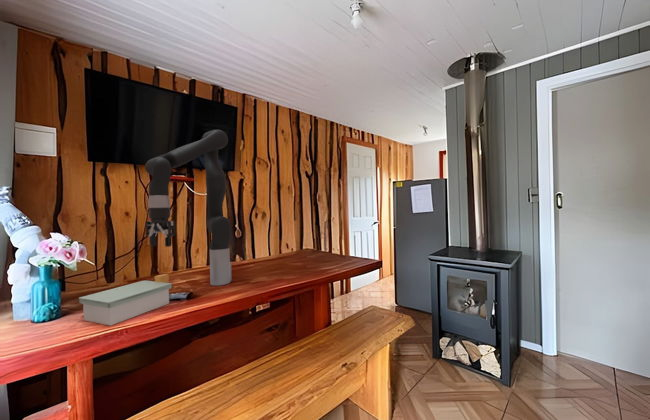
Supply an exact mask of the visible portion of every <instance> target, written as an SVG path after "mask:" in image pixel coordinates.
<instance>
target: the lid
mask: <svg viewBox="0 0 650 420" xmlns="http://www.w3.org/2000/svg"><path fill="white" fill-rule="evenodd" d="M169 276H170V274H168V273H167V274H166V273H163V274H162V273H161V274H159V275H155V276H154V280H141V281H137V282H132V283H129V284H126V285H122V286H118V287H115V288H110V289H106V290H102V291H99V292H95V293H91V294H88V295H84V296H80V297H78V303H79V304H82V305H83V304H87V305H93V306H99V307H105V308H111V307H114V306H117V305H120V304H124V303H127V302H130V301H133V300H136V299H139V298H142V297H145V296H148V295H151V294H155V293H158V292H161V291H164V290H167V289H169V290H170V289H172V288H173V283H171V282H170V277H169Z"/></svg>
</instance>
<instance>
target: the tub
mask: <svg viewBox="0 0 650 420" xmlns="http://www.w3.org/2000/svg"><path fill="white" fill-rule="evenodd" d="M169 290H170V289H167V290H164V291H161V292H158V293H155V294H151V295H148V296H145V297H142V298H139V299H136V300H133V301H130V302H127V303H124V304H120V305H117V306H114V307H111V308H105V307H99V306H93V305H87V304H82V307H83V308H82V310H83V321H86V322H91V323H97V324H102V325H106V326H113V325H115V324H116V325H117V324H119V323H121V322H124V321H127V320H129V319H131V318H135V317H136V316H140V315H143V314H146V313H148V312H150V311H153V310H156V309H158V308H161V307H164V306H167V305H169V304H170V291H169Z"/></svg>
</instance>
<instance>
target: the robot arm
mask: <svg viewBox="0 0 650 420" xmlns="http://www.w3.org/2000/svg"><path fill="white" fill-rule="evenodd" d="M228 142H229V138H228V135H227V133H226V132H225V131H223V130H221V129H211V130H209V131H206V132H204V133H203V135H202V136H201V138H200V140H197V141H193V142H191V143H187V144H185V145H182V146H179V147H177V148H174V149H173V150H170V151H169V152H167V153H165V154H161V155H158V156H155V157H154V158H150V159H149V160H147V162H146V163H145V166H144V169H145V171H146V173H147V174H148V175H150V176H152V179H151V181H150V182H149V183H148V219H151V220H146V221H145V236H148V237H149V244H150V247H156V246H157V235H158V234H159V233H161V234H163V236H164V246H165V247H166V248H169V247H172V243H173V242H172V237H173V236H176V223H175V220H169V219H170V218H171V203H170V202H171V201H170V189H169V184H170V181H171V175H172V169H175V168H178V167H181V166H183V165H185V164H187V163H189V162H191V161H194V160H195V159H197V158H198V157H200V156H202V155H203V156H204V169H205V188H206V201H207V203H206V204H207V216H206V217H207V219H206V228H207V230H208V232H209V233H210V234H211V241H210V243H209V246H208V247H209V275H210V276H209V277H210V282H209V283H210V285H211V286H224V285H228V284H230V283H231V282H232V279H233V278H232V262H231V257H230V244H231V241H232V240H231V239H232V228H231V226H232V225H231V222H230V220H229V219H228V218H227V217H226V216H224V210H223V207H224V205H223V204H224V200H225V196H226V191H227V177H226V174H225V172H224V170H223V168H222V166H221V163H220V160H219V150H222V149H223V148H225V147H226V146H227V145H228Z"/></svg>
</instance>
